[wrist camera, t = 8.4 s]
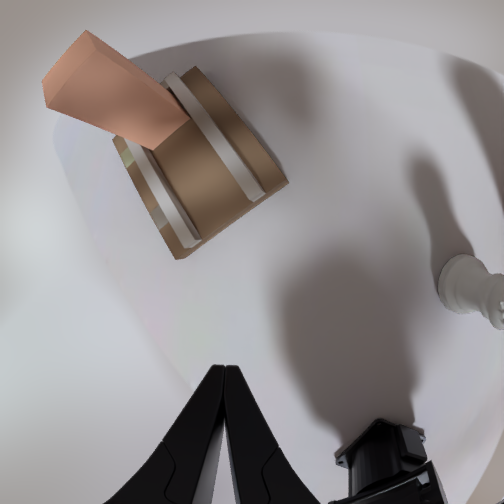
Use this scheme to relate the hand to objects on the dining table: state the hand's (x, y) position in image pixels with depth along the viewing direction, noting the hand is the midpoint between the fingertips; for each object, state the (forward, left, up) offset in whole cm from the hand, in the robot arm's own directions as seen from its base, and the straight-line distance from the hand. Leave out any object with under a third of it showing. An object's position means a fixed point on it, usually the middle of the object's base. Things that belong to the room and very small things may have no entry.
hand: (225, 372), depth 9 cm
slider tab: (+8, +15, -11) cm, 20 cm away
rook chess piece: (+7, -12, -13) cm, 19 cm away
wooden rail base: (+6, +12, -12) cm, 18 cm away
